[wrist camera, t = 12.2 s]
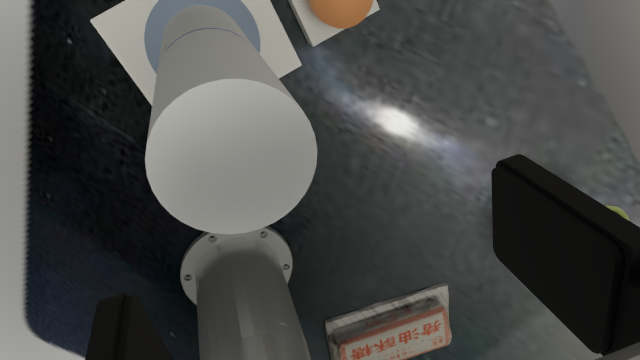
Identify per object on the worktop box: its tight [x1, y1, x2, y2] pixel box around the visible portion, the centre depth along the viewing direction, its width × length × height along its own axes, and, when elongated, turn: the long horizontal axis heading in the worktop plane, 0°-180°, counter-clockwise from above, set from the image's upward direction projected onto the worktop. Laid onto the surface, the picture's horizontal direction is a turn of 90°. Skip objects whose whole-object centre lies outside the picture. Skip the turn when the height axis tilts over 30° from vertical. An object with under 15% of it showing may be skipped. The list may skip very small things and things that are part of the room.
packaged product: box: [325, 282, 452, 360], centre depth 63 cm, size 18×5×10 cm
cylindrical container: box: [145, 5, 317, 234], centre depth 30 cm, size 7×7×25 cm
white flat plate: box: [90, 0, 302, 105], centre depth 41 cm, size 12×14×1 cm
